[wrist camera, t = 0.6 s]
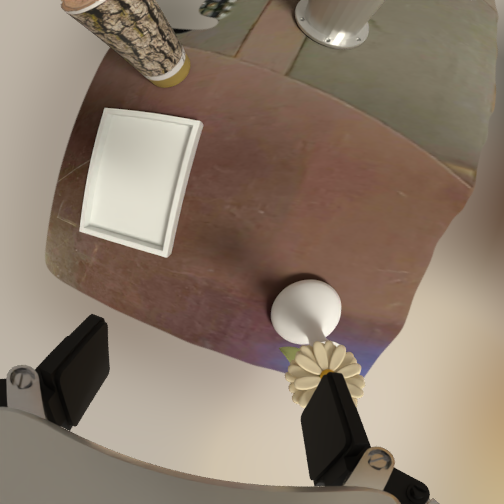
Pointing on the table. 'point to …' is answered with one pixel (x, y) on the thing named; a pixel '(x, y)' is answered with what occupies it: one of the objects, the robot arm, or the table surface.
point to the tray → (139, 178)
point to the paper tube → (135, 36)
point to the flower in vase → (313, 339)
